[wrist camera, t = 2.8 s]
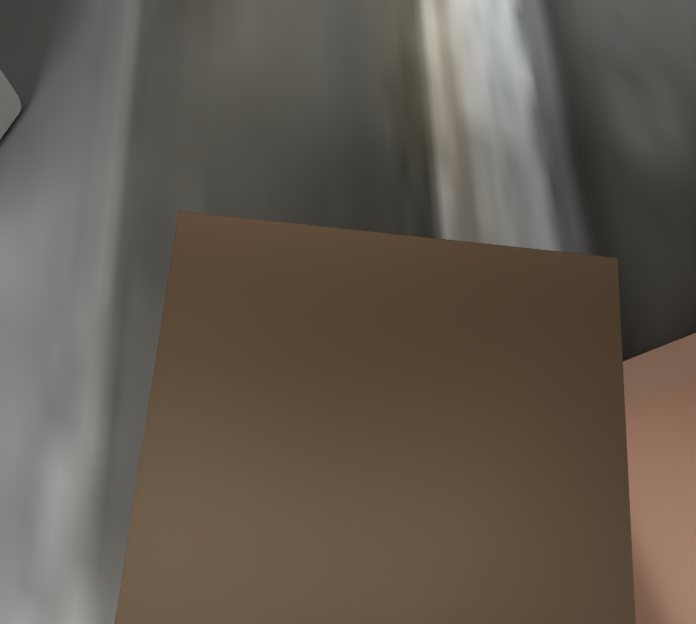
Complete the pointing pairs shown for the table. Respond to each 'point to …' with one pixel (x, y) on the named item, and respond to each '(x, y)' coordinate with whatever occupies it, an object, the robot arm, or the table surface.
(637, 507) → the terracotta dish
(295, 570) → the walnut block
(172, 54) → the table surface
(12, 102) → the medicine bottle
